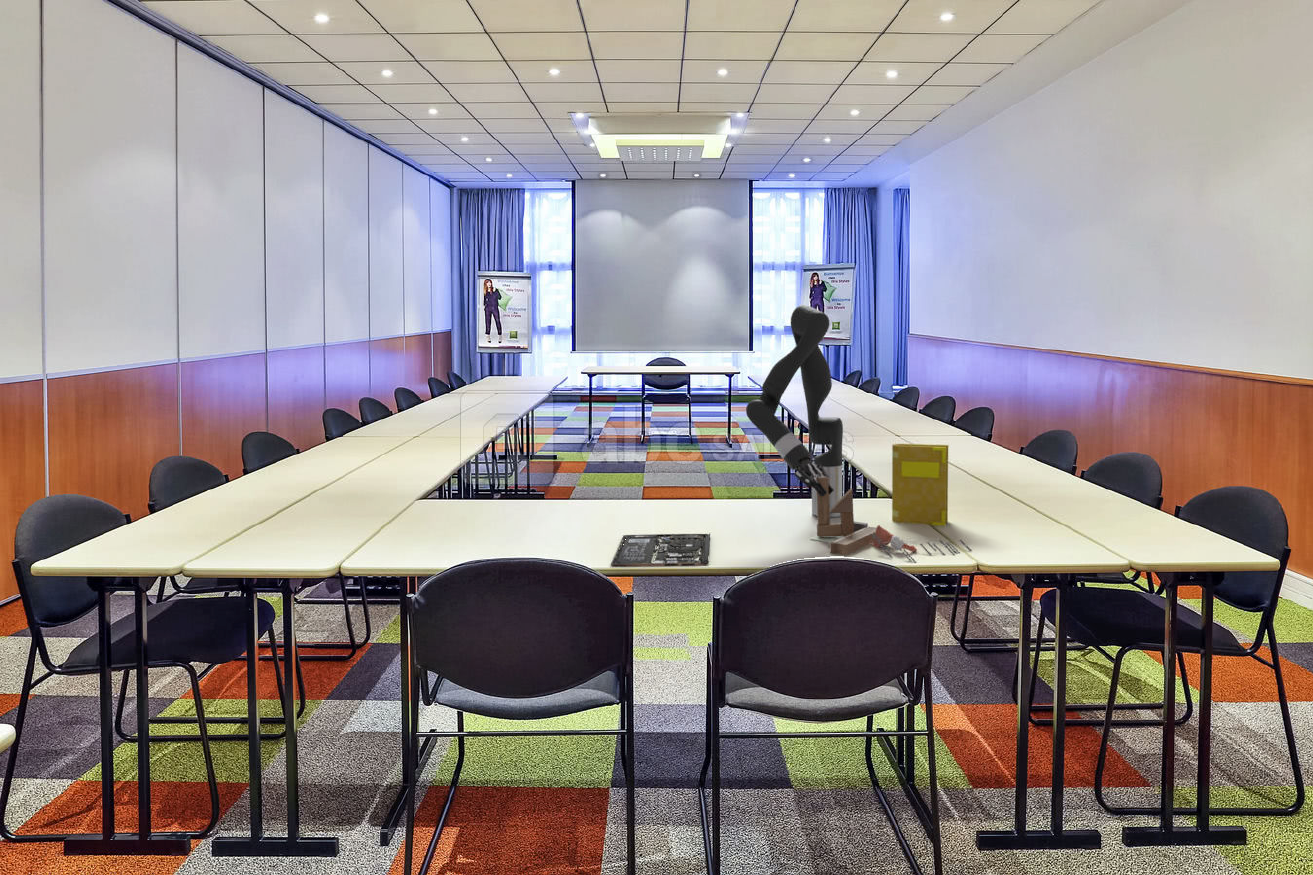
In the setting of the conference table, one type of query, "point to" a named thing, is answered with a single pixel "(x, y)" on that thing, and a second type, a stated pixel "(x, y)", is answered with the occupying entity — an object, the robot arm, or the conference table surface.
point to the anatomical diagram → (885, 538)
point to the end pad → (827, 538)
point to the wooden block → (841, 506)
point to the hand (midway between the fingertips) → (827, 493)
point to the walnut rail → (854, 539)
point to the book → (920, 484)
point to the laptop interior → (662, 550)
